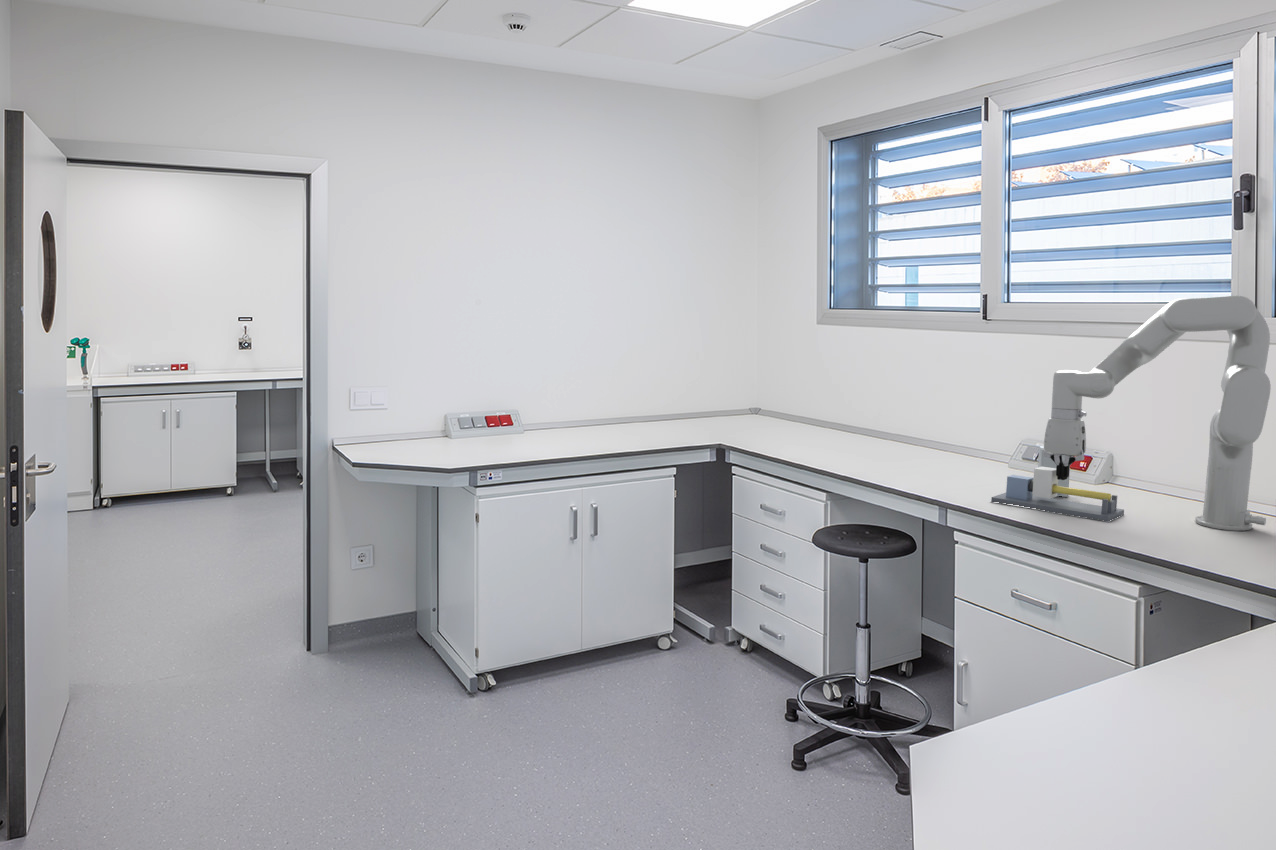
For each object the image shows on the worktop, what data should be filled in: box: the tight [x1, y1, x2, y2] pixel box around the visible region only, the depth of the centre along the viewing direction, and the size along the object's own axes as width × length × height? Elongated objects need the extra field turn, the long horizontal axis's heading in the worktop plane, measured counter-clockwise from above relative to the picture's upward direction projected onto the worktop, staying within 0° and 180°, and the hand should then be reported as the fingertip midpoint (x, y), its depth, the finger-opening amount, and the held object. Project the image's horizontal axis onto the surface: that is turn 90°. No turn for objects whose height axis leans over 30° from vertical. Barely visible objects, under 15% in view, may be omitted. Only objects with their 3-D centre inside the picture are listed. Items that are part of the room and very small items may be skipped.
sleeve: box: [1032, 466, 1058, 499], centre depth 254 cm, size 5×5×8 cm
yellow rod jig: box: [990, 474, 1125, 522], centre depth 252 cm, size 32×12×8 cm, turn 44°
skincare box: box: [1037, 445, 1071, 498], centre depth 270 cm, size 8×6×15 cm
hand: (1062, 479), depth 251 cm, fingers closed
